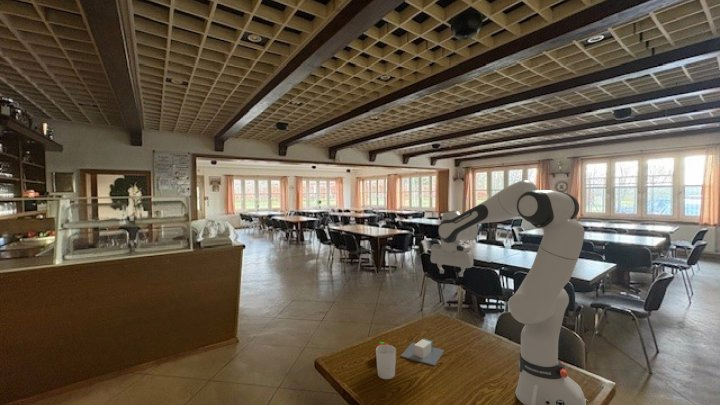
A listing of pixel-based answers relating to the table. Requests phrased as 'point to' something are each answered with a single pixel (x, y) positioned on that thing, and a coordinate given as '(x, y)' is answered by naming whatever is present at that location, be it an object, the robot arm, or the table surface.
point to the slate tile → (429, 359)
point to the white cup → (386, 361)
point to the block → (423, 348)
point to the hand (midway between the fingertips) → (451, 274)
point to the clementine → (382, 343)
